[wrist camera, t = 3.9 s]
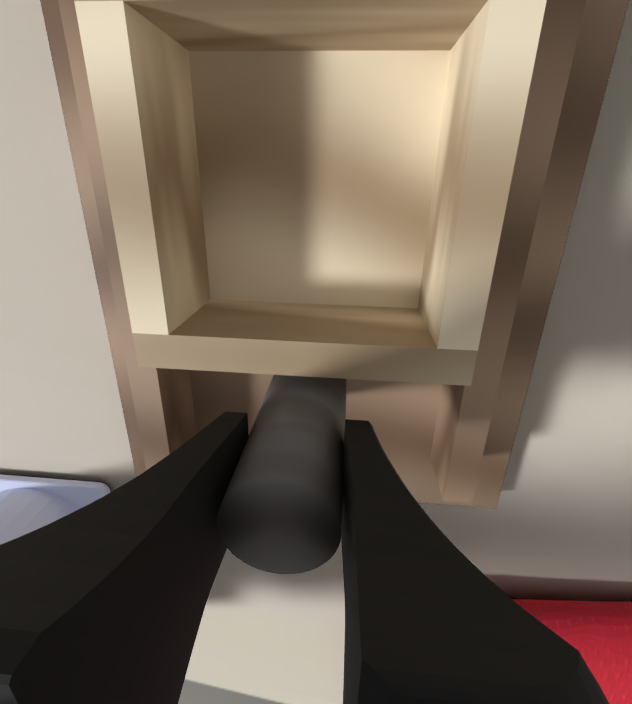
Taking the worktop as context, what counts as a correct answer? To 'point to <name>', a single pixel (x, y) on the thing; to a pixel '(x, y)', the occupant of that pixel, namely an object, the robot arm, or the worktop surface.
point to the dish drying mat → (594, 638)
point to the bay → (371, 395)
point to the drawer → (307, 212)
